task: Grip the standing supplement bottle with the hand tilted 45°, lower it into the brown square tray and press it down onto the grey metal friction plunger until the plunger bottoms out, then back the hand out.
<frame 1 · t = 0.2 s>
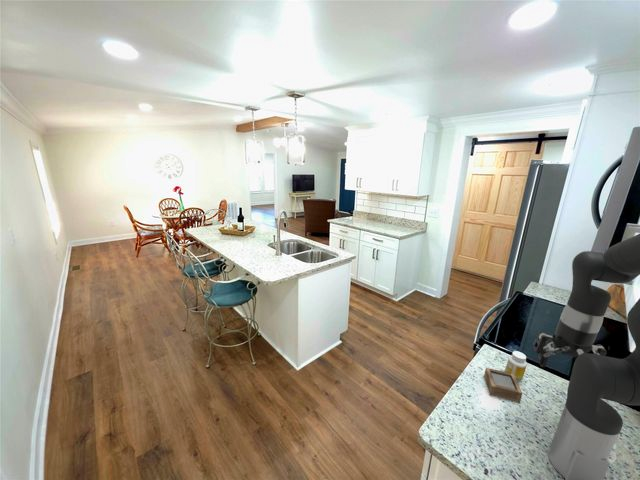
hand: (560, 369, 75), 18 cm above the counter, tool pointing down, fingers open, 8 cm apart
supplement bottle: (513, 376, 95), on the counter
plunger: (502, 381, 89), point 3 cm above the counter, slide at 0.0 cm
brown square tray: (500, 388, 90), on the counter
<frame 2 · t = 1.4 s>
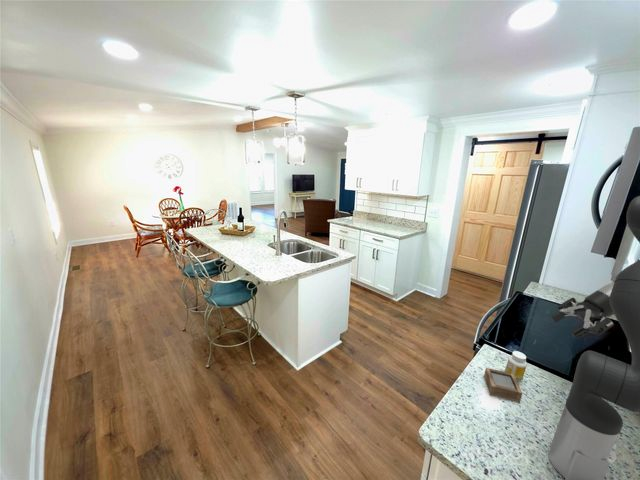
hand: (562, 328, 88), 21 cm above the counter, tool tilted 45°, fingers open, 8 cm apart
nothing on the counter moved.
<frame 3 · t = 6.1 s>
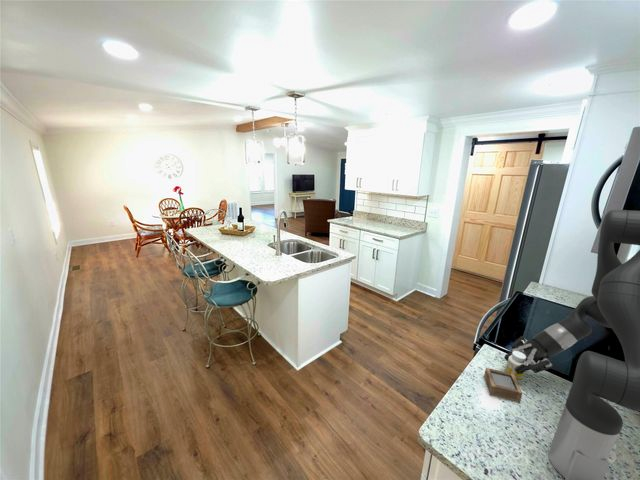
hand: (511, 365, 94), 5 cm above the counter, tool tilted 45°, fingers closed on supplement bottle, 5 cm apart
supplement bottle: (513, 376, 95), on the counter, touching gripper
everything else where it was.
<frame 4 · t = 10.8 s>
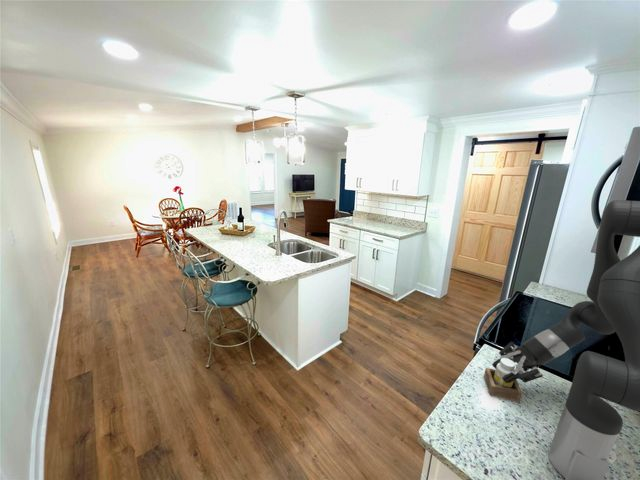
hand: (499, 373, 88), 6 cm above the counter, tool tilted 45°, fingers closed on supplement bottle, 5 cm apart
supplement bottle: (502, 385, 90), point 1 cm above the counter, touching gripper, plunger
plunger: (501, 385, 89), point 1 cm above the counter, slide at 1.9 cm, touching supplement bottle, brown square tray
when the fingers open (6 cm above the counter, at t = 11.9 s): supplement bottle stays where it is, resting on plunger.
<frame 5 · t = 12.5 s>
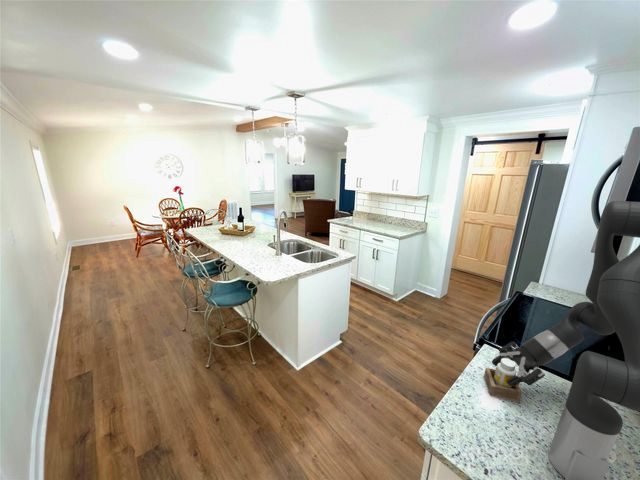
hand: (500, 373, 88), 6 cm above the counter, tool tilted 45°, fingers open, 8 cm apart
supplement bottle: (502, 385, 90), point 1 cm above the counter, touching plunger
everything else where it was.
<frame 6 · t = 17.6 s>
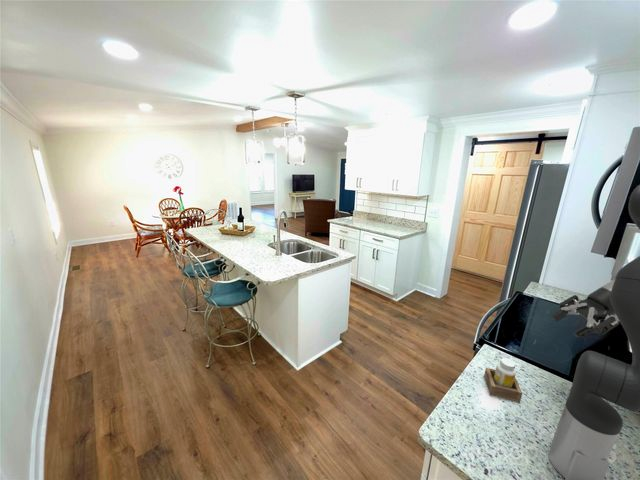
hand: (564, 327, 83), 25 cm above the counter, tool tilted 45°, fingers open, 8 cm apart
nothing on the counter moved.
at the end: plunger slide at 1.9 cm; supplement bottle 0.3 cm off-centre on the brown square tray, point 1.4 cm above the brown square tray's base; supplement bottle tilted 0° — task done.
